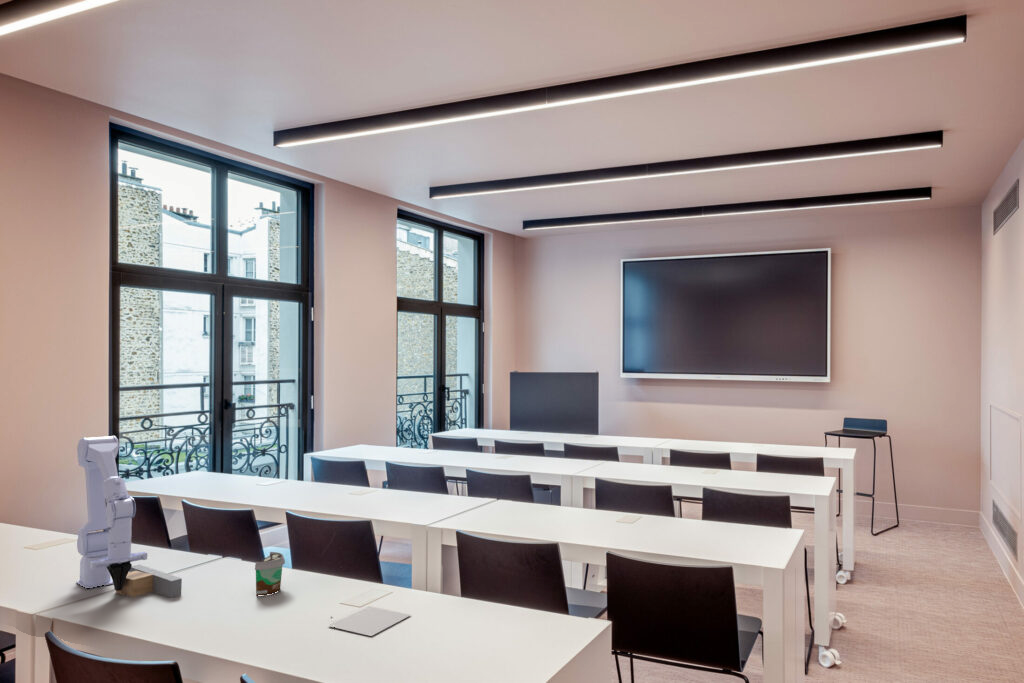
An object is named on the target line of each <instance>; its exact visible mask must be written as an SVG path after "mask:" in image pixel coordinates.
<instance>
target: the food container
mask: <svg viewBox="0 0 1024 683" xmlns="http://www.w3.org/2000/svg"><path fill="white" fill-rule="evenodd" d="M285 563H286V560H285V556H284V555H283V554H282V553H280V552H278V551H277V552H276V551H269V555H268V556H267V557H264V558H263V559H262V560H261V561H258V562H257V561H255V566H254V571H255V596H258V595H267V594H272V593H275V592H277V591H279V590H280V591H281V585H282V584H281V583H282V574H283V566H284V565H285ZM280 591H279V592H280Z"/></svg>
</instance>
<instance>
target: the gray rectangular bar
mask: <svg viewBox="0 0 1024 683" xmlns="http://www.w3.org/2000/svg"><path fill="white" fill-rule="evenodd" d="M133 571H140V572H144V573H148V574H153V591H152V592H154V593H156V592H157V594H160V595H162V596H165V597H168V598H171V599H172V598H175V597H180V596H181V595H182V580H183V579H182V577H179V576H175V575H172V574H169V573H166V572H163V571H160V570H157V569H154V568H150V567H148V566H146V565H143V564H135V565H134V564H133V565H132V567H131V569H130V571H129V572H133ZM129 572H128V573H129Z"/></svg>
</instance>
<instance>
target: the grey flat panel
mask: <svg viewBox="0 0 1024 683" xmlns="http://www.w3.org/2000/svg"><path fill="white" fill-rule="evenodd" d="M410 616H411V614H409V613H408V614H407V613H404V612H399V611H395V610H391V609H384V608H380V607H375V606H371V605H369V606H367V607H365V608H362V609H361V610H357V611H356V612H354V613H351V614H350V615H348V616H344V618H343V617H342V618H340V619H338V620H337V621H335V622H333V623H330V624H329V625H330V626H329V627H330V628H334V626H335V629H339V630H343V631H347V632H351V633H355V634H356V633H357V634H360V635H365V636H369V637H372V636H374V635H376V634H378V633H380V632H382V631H384V630H386V629H389V628H390V627H392V626H393V625H395V624H398V623H399V622H401V621H403V620H404V619H407V618H408V617H410ZM331 625H332V626H331ZM333 625H334V626H333Z"/></svg>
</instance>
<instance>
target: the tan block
mask: <svg viewBox="0 0 1024 683" xmlns="http://www.w3.org/2000/svg"><path fill="white" fill-rule="evenodd" d="M151 591H152V592H154V591H153V574H148V573H144V572H140V571H133V572H128V574H127V576H126V579H125V581H124V585H123V588H122V590H119V591H116V590H115V593H116V592H117V593H116V594H119V593H120V594H119V595H123V594H124V595H123V596H127V595H128V596H127V597H131V596H132V598H135V597H138V595H139V596H142V595H145V594H148V592H149V593H151Z"/></svg>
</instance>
